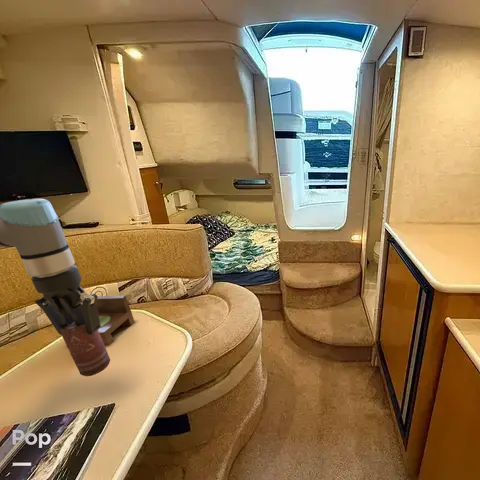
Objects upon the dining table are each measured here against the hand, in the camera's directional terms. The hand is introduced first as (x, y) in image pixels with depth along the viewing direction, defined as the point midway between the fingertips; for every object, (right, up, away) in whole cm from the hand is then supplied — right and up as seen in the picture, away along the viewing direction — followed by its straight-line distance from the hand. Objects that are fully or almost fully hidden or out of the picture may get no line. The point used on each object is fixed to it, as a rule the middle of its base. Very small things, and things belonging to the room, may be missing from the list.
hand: (90, 355), depth 67 cm
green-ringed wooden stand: (-18, -4, +26) cm, 32 cm away
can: (0, -4, +1) cm, 4 cm away
